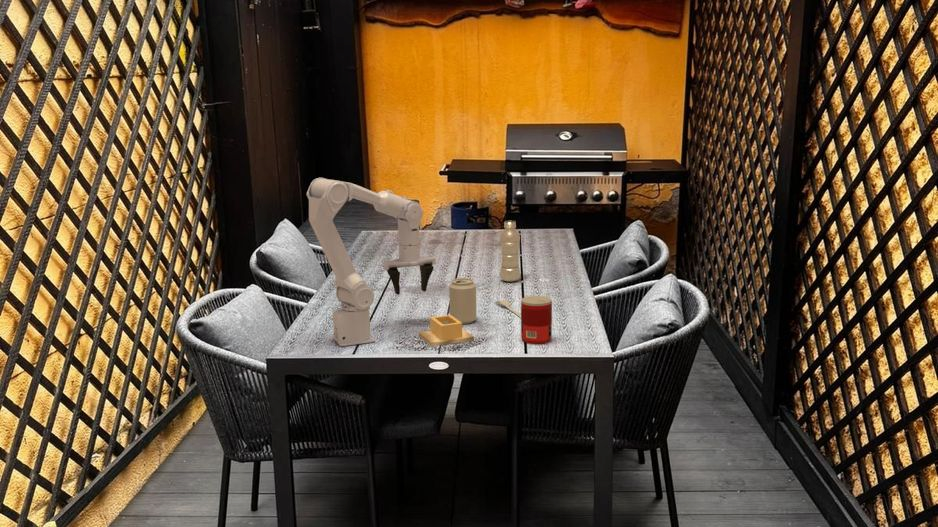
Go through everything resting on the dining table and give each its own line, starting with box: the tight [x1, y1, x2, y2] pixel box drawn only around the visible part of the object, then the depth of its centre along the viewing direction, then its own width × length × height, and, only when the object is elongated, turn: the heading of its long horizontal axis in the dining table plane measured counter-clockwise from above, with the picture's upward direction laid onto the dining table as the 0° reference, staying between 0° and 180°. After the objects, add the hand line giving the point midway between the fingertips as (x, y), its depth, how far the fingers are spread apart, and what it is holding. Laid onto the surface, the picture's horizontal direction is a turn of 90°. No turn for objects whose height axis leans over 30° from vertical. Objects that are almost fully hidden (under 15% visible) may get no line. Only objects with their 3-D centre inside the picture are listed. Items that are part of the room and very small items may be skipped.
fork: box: [494, 299, 521, 319], centre depth 258 cm, size 3×21×3 cm, turn 24°
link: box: [429, 314, 463, 341], centre depth 233 cm, size 6×8×4 cm
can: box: [448, 277, 477, 325], centre depth 247 cm, size 8×8×12 cm
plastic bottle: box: [499, 220, 521, 283], centre depth 289 cm, size 6×7×20 cm
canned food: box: [520, 295, 553, 345], centre depth 230 cm, size 8×8×11 cm
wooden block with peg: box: [417, 321, 475, 348], centre depth 233 cm, size 12×10×4 cm
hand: (410, 292), depth 242 cm, fingers open, 7 cm apart
